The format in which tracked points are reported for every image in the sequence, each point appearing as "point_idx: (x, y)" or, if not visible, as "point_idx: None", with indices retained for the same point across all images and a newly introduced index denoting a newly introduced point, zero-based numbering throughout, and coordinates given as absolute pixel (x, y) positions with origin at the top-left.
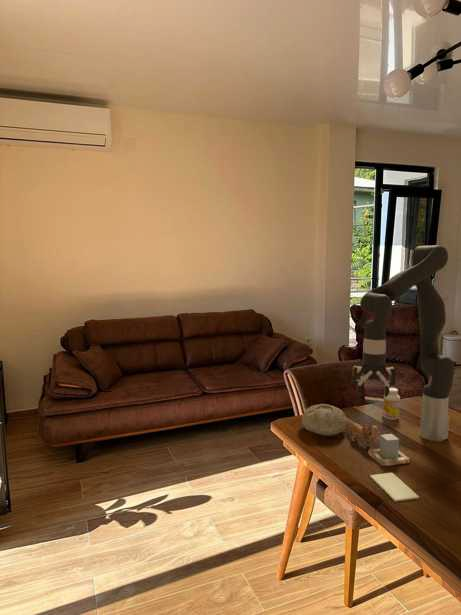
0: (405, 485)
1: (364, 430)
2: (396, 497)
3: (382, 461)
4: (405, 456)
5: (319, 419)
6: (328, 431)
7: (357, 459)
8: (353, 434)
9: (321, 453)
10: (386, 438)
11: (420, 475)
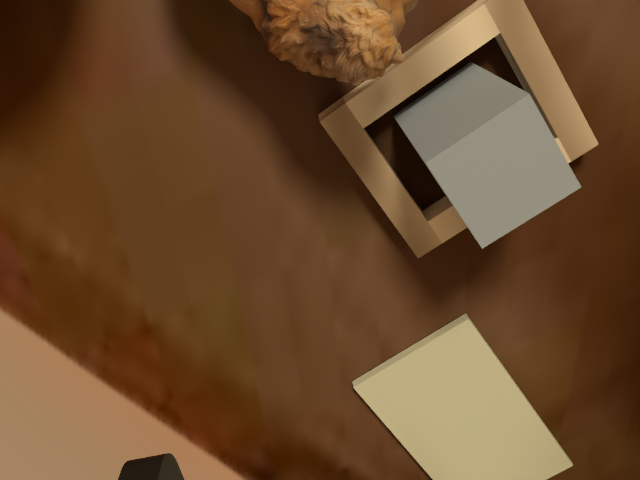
0: (525, 407)
1: (268, 33)
2: None
3: (419, 251)
4: (576, 119)
5: None
6: None
7: (260, 223)
8: None
9: (22, 238)
10: (475, 215)
11: (621, 263)
